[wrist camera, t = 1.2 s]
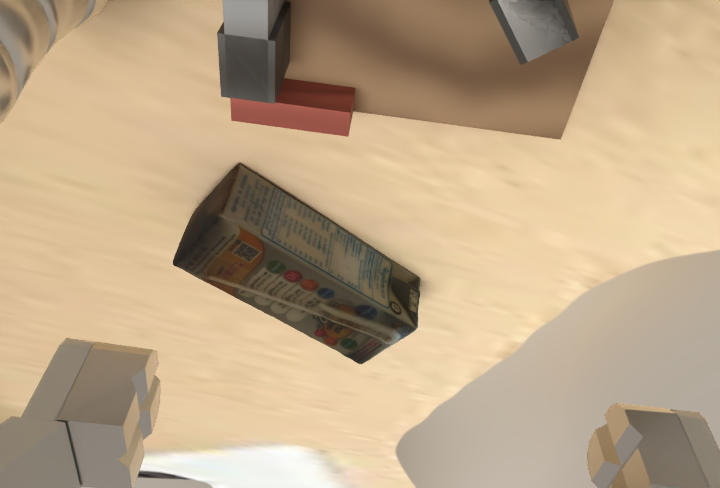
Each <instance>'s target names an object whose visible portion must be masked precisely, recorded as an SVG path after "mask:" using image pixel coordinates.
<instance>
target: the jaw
mask: <svg viewBox="0 0 720 488" xmlns="http://www.w3.org/2000/svg"><path fill="white" fill-rule="evenodd" d="M489 3H490V5H491V7H492V9H493V11H494V13H495V15H496V17H497V19H498V21H499V23H500V25H501V27H502V29H503V31H504V33H505V35H506V37H507V39H508V41H509V43H510V45H511V47H512V49H513V51H514V53H515V55H516V57H517V59H518V61H519V63H520V65H523V64H525V63H527V62H529V61H531V60H533V59H536V58H538V57H540V56H542V55H544V54H546V53H548V52H550V51H552V50H555V49H557V48H559V47H561V46H563V45H565V44H567V43H569V42H571V41H574V40H576V39H578V38H579V35H578V32H577V29H576V25H575V22H574V19H573V16H572V13H571V10H570V6H569V3H568V0H489Z"/></svg>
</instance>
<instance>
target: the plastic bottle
mask: <svg viewBox="0 0 720 488" xmlns="http://www.w3.org/2000/svg"><path fill="white" fill-rule="evenodd" d="M107 1H108V0H0V124H1V123H2V122H3V121H4V119H5V118H6V116H7V115H8V113H9V112H10V111H11V109H12V108H13V106H14V104H15V102H16V100H17V98H18V97H19V95H20V93H21V91H22V89H23V88H24V86H25V84H26V82H27V80H28V79H29V77H30V75H31V73H32V72H33V71H34V69H35V68H36V67H37V65H38V64H39V63H40V61H41V60H42V59H43V58H44V56H45V54H46V53H47V52H48V51H49V50H50V48H51V47H52V46H53V45H54V44H55V43H57V42H58V41H59V40H60V39H61V38H63V37H64V36H65V35H66V34H67V33H69V32H70V31H71V30H72V29H74V28H76V27H78V26H80V25H81V24H83V23H85V22H87V21H88V20H90V19H91V18H92V17H94V16H95V15H97V14H98V13H99V12H100V11H101V10H102V9H103V8H104V7H105V5H106V3H107Z"/></svg>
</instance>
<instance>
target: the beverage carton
mask: <svg viewBox="0 0 720 488" xmlns="http://www.w3.org/2000/svg"><path fill="white" fill-rule="evenodd" d="M173 265H174V266H177V267H179V268H181V269H183V270H185V271H186V272H188V273H190V274H192V275H194V276H195V277H197V278H199V279H201V280H203V281H205V282H207V283H209V284H211V285H213V286H215V287H217V288H219V289H221V290H223V291H224V292H226V293H228V294H230V295H232V296H234V297H236V298H237V299H239V300H241V301H243V302H245V303H247V304H249V305H251V306H253V307H255V308H257V309H259V310H261V311H263V312H264V313H266V314H268V315H271V316H273V317H275V318H276V319H278V320H280V321H282V322H284V323H285V324H288V325H289V326H291V327H293V328H295V329H297V330H299V331H300V332H302V333H304V334H306V335H308V336H309V337H311V338H313V339H315V340H317V341H319V342H321V343H323V344H325V345H327V346H329V347H330V348H332V349H334V350H337V351H338V352H340V353H341V354H343V355H344V356H346V357H348V358H350V359H352V360H354V361H355V362H357V363H359V364H363V363H365V362H366V361H368V360H370V359H371V358H373V357H374V356H376V355H377V354H379V353H380V352H382V351H383V350H385V349H386V348H388V347H390V346H391V345H393V344H395V343H396V342H398V341H399V340H401V339H403V338H405V337H406V336H408V335H409V334H411V333H412V332H414V331H415V330H416V329H417V328H418V305H419V298H420V291H419V286H420V279H419V277H417V276H416V275H414V274H413V273H411V272H410V271H408V270H406V269H405V268H403V267H402V266H400V265H398V264H397V263H395V262H394V261H392V260H391V259H389V258H388V257H386V256H385V255H383V254H382V253H380V252H379V251H377V250H376V249H374V248H372V247H371V246H369V245H368V244H366V243H364V242H363V241H361V240H359V239H358V238H356V237H355V236H353V235H351V234H350V233H348V232H347V231H345V230H343V229H342V228H340V227H339V226H337V225H336V224H334V223H333V222H331V221H329V220H328V219H326V218H325V217H323V216H321V215H320V214H318V213H316V212H315V211H313V210H311V209H310V208H308V207H307V206H305V205H303V204H302V203H300V202H299V201H297V200H296V199H294V198H293V197H291V196H289V195H288V194H286V193H284V192H283V191H281V190H280V189H278V188H276V187H275V186H273V185H272V184H270V183H269V182H267V181H265V180H264V179H262V178H261V177H259V176H258V175H256V174H255V173H253V172H251V171H250V170H248V169H247V168H245V167H244V166H242V165H241V164H237V165H236V166H235V167H234V168H233V169H232V170H231V171H230V172H229V174H228V175H227V176H226V177H225V178H224V179H223V180H222V181H221V182H220V184H219V185H218V186H217V187H216V188H215V189H214V190H213V191H212V192H211V193H210V194H209V195H208V196H207V197H206V199H205V200H204V201H203V202H202V203H201V204H200V205H199V206H198V208H197V209H196V210H195V211H194V213H193V214H192V216H191V218H190V220H189V223H188V225H187V227H186V229H185V232H184V234H183V237H182V239H181V241H180V244H179V246H178V249H177V252H176V254H175V257H174V259H173Z"/></svg>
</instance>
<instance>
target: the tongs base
mask: <svg viewBox="0 0 720 488" xmlns="http://www.w3.org/2000/svg"><path fill="white" fill-rule="evenodd" d="M568 3H569V6H570V10H571V13H572V16H573V19H574V22H575V25H576V29H577V32H578V35H579V38H578V39H576V40H574V41H571V42H569V43H567V44H565V45H563V46H561V47H559V48H557V49H555V50H552V51H550V52H548V53H546V54H544V55H542V56H540V57H538V58H536V59H533V60H531V61H529V62H527V63H525V64H523V65H520V63H519V61H518V59H517V57H516V55H515V53H514V51H513V49H512V47H511V45H510V43H509V41H508V39H507V37H506V35H505V33H504V31H503V29H502V27H501V25H500V23H499V21H498V19H497V17H496V15H495V13H494V11H493V9H492V7H491V5H490V3H489V0H223V15H224V22H223V24H222V26H221V27H220V29H219V31H218V33H217V36H218V52H219V68H220V84H221V97H228V98H230V100H231V119H232V121H239V122H246V123H253V124H261V125H268V126H275V127H283V128H290V129H297V130H304V131H312V132H319V133H326V134H334V135H341V136H348V135H349V130H350V124H351V119H352V114H353V111H356V112H363V113H370V114H378V115H385V116H392V117H400V118H407V119H414V120H422V121H429V122H436V123H444V124H451V125H458V126H465V127H473V128H480V129H487V130H495V131H502V132H509V133H517V134H524V135H531V136H539V137H546V138H553V139H561V137H562V134H563V132H564V129H565V126H566V124H567V121H568V118H569V116H570V113H571V111H572V108H573V105H574V103H575V100H576V97H577V95H578V92H579V90H580V87H581V84H582V82H583V79H584V76H585V74H586V71H587V69H588V66H589V63H590V61H591V58H592V55H593V53H594V50H595V48H596V45H597V42H598V40H599V37H600V35H601V32H602V29H603V27H604V24H605V21H606V19H607V16H608V14H609V11H610V8H611V6H612V3H613V0H568Z"/></svg>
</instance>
